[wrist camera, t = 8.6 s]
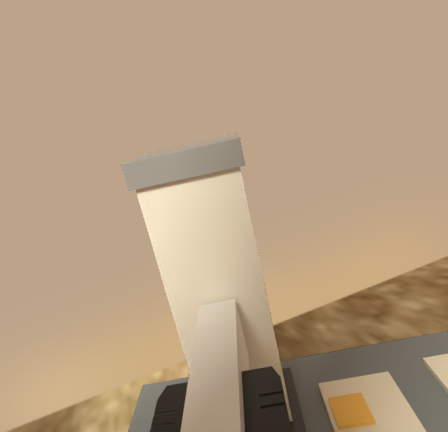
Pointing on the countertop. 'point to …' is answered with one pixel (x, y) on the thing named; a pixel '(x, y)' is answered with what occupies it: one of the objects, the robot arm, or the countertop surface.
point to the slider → (205, 239)
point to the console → (355, 389)
